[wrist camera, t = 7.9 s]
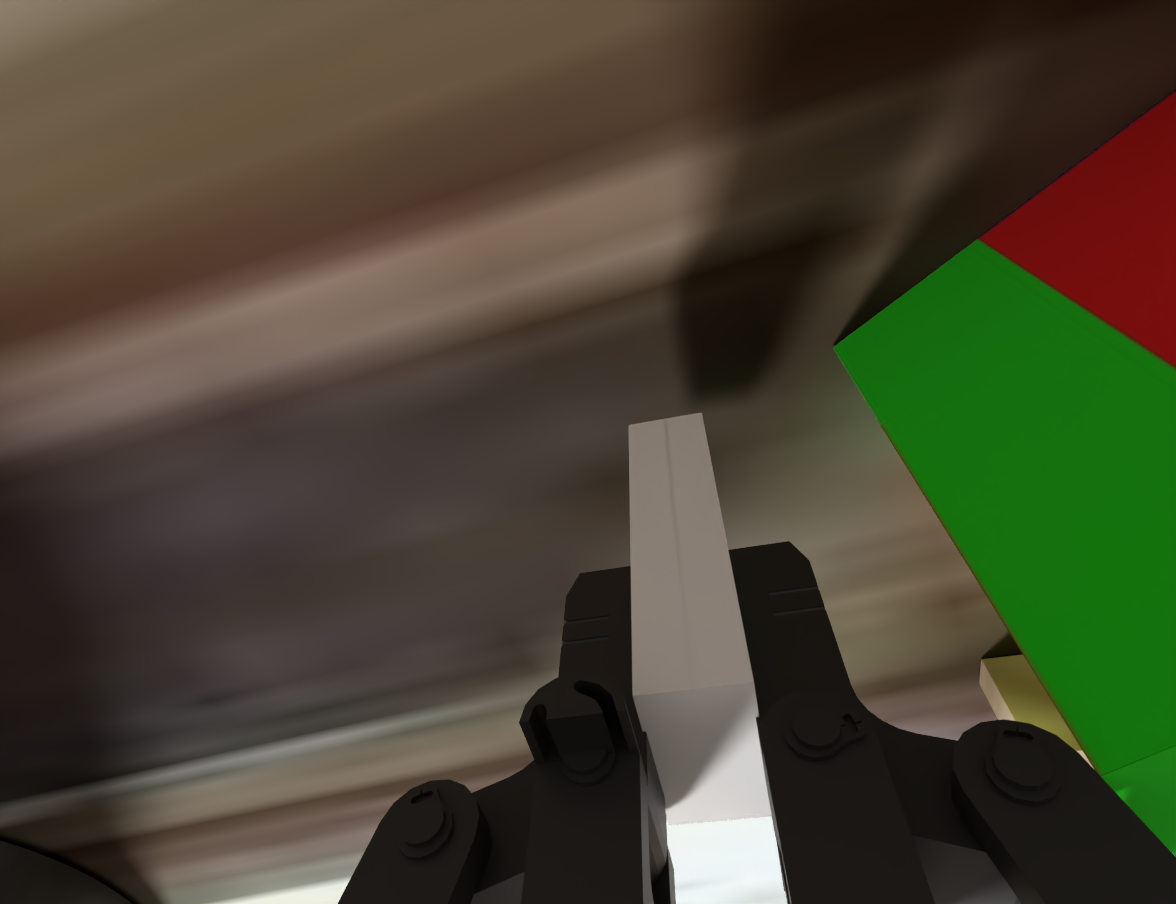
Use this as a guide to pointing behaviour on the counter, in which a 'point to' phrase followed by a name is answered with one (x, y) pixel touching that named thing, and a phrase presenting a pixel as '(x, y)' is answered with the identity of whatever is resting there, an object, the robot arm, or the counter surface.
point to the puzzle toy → (1060, 441)
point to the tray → (1022, 697)
